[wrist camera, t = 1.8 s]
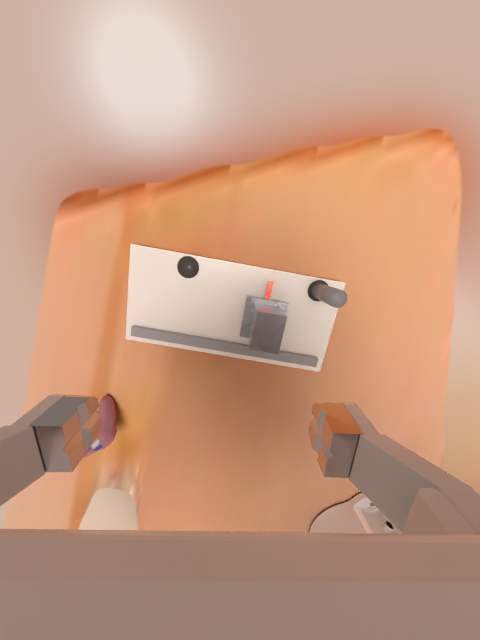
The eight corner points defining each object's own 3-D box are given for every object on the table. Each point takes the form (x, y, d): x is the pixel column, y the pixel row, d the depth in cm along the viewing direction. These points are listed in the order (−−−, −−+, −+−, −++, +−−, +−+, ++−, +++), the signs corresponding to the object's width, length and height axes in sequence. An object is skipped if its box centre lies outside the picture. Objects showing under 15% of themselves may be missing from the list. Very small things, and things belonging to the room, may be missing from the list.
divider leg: (291, 284, 28) (304, 291, 22) (278, 340, 30) (287, 360, 24) (250, 276, 28) (252, 281, 22) (239, 333, 29) (238, 352, 23)
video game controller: (74, 423, 38) (54, 471, 32) (51, 410, 35) (25, 461, 30) (128, 405, 37) (117, 452, 31) (109, 391, 34) (93, 440, 29)
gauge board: (339, 281, 30) (372, 288, 22) (315, 365, 33) (337, 397, 25) (138, 244, 29) (100, 239, 21) (132, 334, 32) (97, 357, 24)
